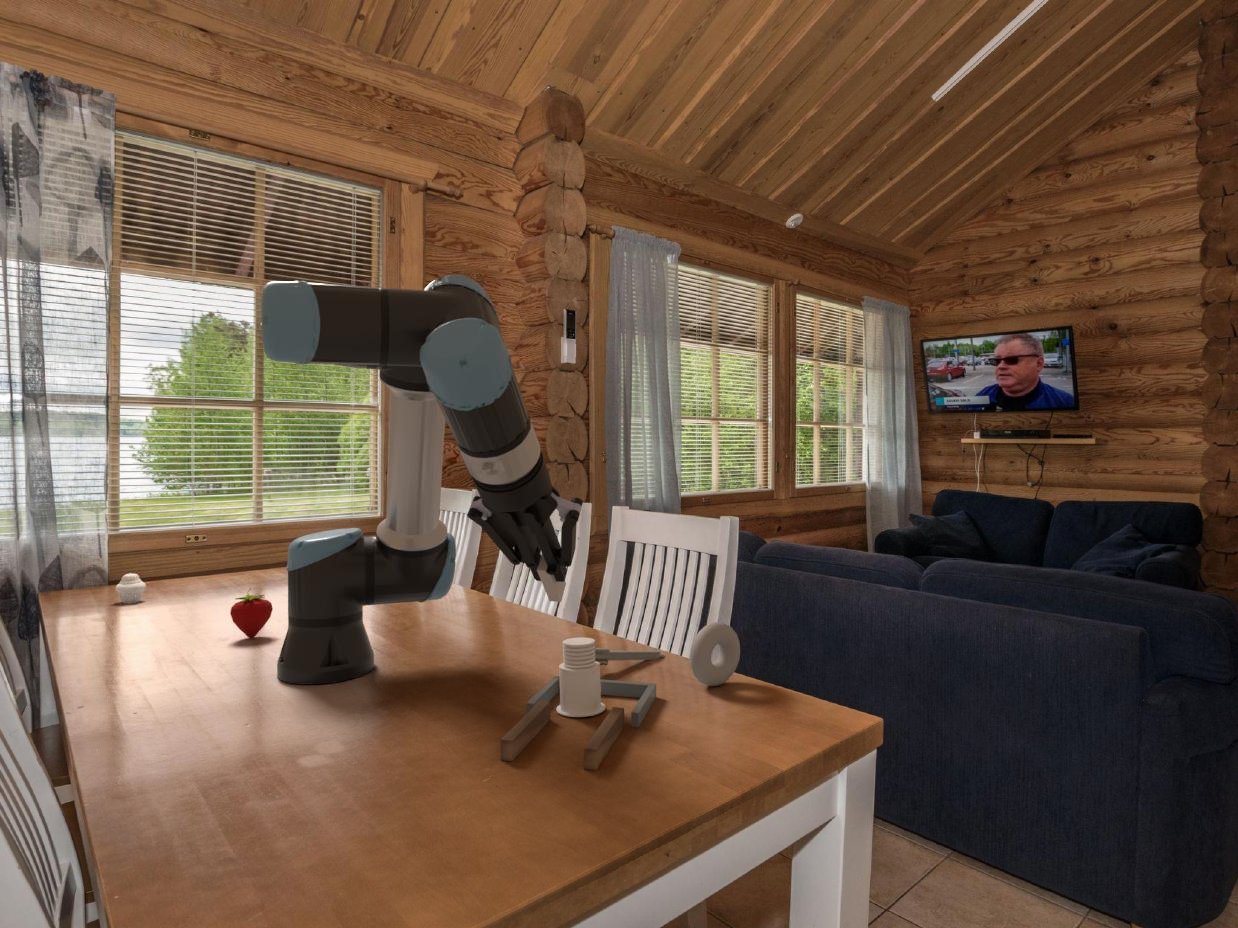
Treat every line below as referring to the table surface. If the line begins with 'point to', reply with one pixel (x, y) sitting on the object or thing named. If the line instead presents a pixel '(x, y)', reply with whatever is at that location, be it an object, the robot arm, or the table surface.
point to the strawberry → (251, 614)
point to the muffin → (130, 588)
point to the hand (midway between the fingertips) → (557, 592)
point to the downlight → (579, 679)
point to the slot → (540, 717)
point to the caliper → (624, 655)
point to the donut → (703, 653)
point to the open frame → (607, 688)
